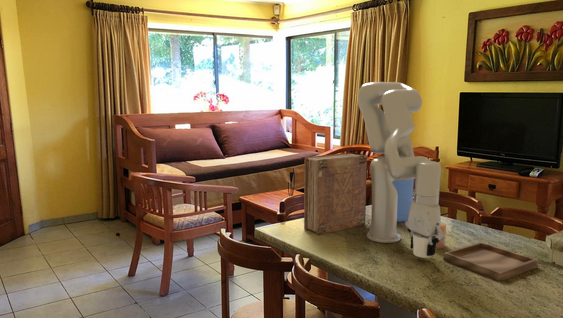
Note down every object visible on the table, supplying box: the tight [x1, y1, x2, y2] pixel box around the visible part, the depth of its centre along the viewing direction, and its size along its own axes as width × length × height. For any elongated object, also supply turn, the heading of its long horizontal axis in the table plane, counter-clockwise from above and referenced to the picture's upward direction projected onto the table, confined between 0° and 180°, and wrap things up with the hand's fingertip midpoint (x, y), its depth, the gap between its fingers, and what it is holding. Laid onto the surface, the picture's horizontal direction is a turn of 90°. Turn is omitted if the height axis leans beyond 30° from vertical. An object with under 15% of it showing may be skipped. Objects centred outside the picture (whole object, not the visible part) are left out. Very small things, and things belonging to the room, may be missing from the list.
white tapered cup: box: [412, 232, 433, 259], centre depth 144 cm, size 7×7×7 cm
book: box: [303, 152, 368, 236], centre depth 180 cm, size 25×9×30 cm, turn 122°
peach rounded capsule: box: [436, 222, 447, 250], centre depth 159 cm, size 7×7×8 cm
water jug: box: [392, 179, 415, 223], centre depth 194 cm, size 16×16×28 cm
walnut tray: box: [443, 241, 539, 282], centre depth 142 cm, size 20×20×2 cm
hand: (422, 251), depth 145 cm, fingers closed on white tapered cup, 6 cm apart
